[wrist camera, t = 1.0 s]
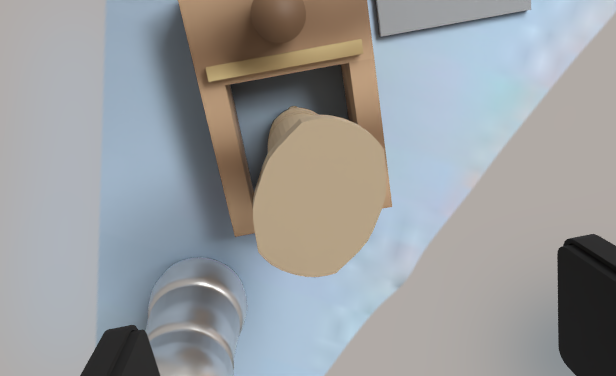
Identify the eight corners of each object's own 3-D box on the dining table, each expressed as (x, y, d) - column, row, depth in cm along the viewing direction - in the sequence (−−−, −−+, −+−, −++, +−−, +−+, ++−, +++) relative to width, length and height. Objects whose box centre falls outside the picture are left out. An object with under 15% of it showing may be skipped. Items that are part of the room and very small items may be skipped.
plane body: (185, -6, 29) (164, -17, 23) (350, -35, 30) (373, -53, 23) (237, 217, 34) (231, 257, 28) (379, 190, 34) (405, 223, 28)
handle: (248, 162, 33) (235, 258, 19) (276, 71, 31) (285, 101, 17) (313, 182, 34) (349, 289, 19) (344, 95, 32) (408, 142, 18)
